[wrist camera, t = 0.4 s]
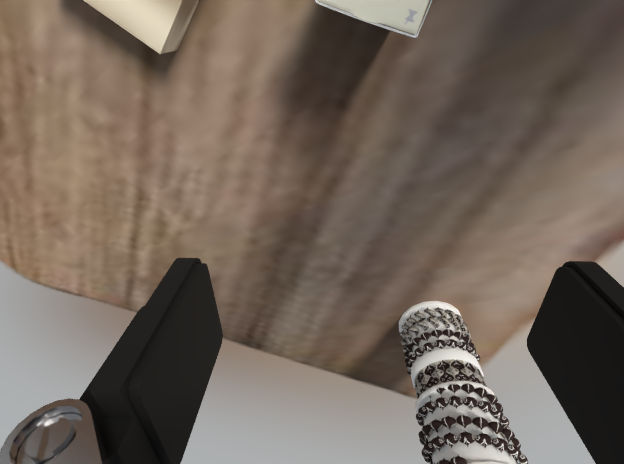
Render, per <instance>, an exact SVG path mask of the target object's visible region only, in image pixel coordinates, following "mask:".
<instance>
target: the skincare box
mask: <svg viewBox="0 0 624 464" xmlns="http://www.w3.org/2000/svg"><path fill="white" fill-rule="evenodd" d="M315 2H316V3H317V4H319V5H321V6H324V7H326V8H329V9H332V10H334V11H337V12H339V13H342V14H345V15H347V16H350V17H353V18H355V19H358V20H361V21H364V22H367V23H370V24H373V25H376V26H378V27H381V28H384V29H387V30H390V31H393V32H397V33H400V34H403V35H406V36H409V37H412V38H417V36H418V34H419V31H420V29H421V27H422V24H423V22H424V19H425V17H426V15H427V12H428V10H429V8H430V5H431V2H432V0H315Z"/></svg>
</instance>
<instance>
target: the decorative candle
mask: <svg viewBox="0 0 624 464" xmlns="http://www.w3.org/2000/svg"><path fill="white" fill-rule="evenodd" d="M399 332H400V336H403V338H404V339H401V342H402V345H403V346H406V347H405V348H403V352H405V353H404V356H405V358H406V360H405V362H406V366H407V368H408V370H407V372H408V374H409V375H410V376H411V378H412V383H413V387H414V388H415V390H416V394H417V398H418V400H417V401H416V419H417V420H418V423H419V425H420V426H423V428H422V431H420V432H419V438H420V442H421V443H422V444H423V445H424V448H423V450H422V455H423V457H424V459H425V461H426V462H428V463H430V464H517V460H518V459H519V461H520V464H528V460H527V458H526V457H525V456H524V455H523V454H521V451H520V450H519V449H520V446H521V445H520V442H519V441H518V440H517V439H516V438H514V437H515V435H514V433H513V432H512V431H511V430H510V428H509V427H508V425H509V421H508V419H507V418H506V417H505V416H503V413H502V411H503V407H502V405H500V404H499V403H498V400H497V397H496V396H495V395H494V393H493V391H492V390H491V389H489V388H487V386H486V383H485V381H484V379H483V375H484V374H483V372H482V370H481V367H480V364H479V362H478V361H479V360H480V356H479V355H478V354H476V349H475V345H474V344H473V343H471V335H470V333H469V331H467V326H466V324H465V322H464V321H463V319H462V317H461V315H460V313H459V311H458V309H457V308H455V307H454V306H452V305H451V304H449V303H445V302H441V301H426V302H421V303H419V304H416V305H414V306H411V307H410V308H409V309H408V310H406V311H405V312H404V313H403V314H402V316H401V318H400V320H399ZM501 422H502V424H503V425H501ZM426 435H427V438H426ZM427 439H428V440H427ZM509 441H511V442H512V444H513V445H510V444H509V443H508V442H509Z"/></svg>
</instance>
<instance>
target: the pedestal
mask: <svg viewBox="0 0 624 464" xmlns="http://www.w3.org/2000/svg"><path fill="white" fill-rule="evenodd" d="M84 1H85V2H86V3H88V4H89V5H91V6H92V7H94V8H95V9H96V10H98V11H99V12H101V13H102V14H104V15H105V16H106V17H108V18H109V19H111V20H112V21H114V22H115V23H116V24H118V25H119V26H121V27H122V28H124V29H125V30H126V31H128V32H129V33H131V34H132V35H134V36H135V37H136V38H138V39H139V40H141V41H142V42H144V43H145V44H146V45H148V46H149V47H151V48H152V49H153V50H155V51H156V52H158V53H159V54H163V53H168V52H172V51H177V50H178V48H179V45H180V43H181V41H182V39H183V36H184V34H185V32H186V29H187V27H188V25H189V23H190V20H191V18H192V16H193V13H194V11H195V9H196V7H197V4H198V2H199V0H84Z"/></svg>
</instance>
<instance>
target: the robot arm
mask: <svg viewBox="0 0 624 464" xmlns="http://www.w3.org/2000/svg"><path fill="white" fill-rule="evenodd" d="M222 337H223V334H222V328H221V324H220V319H219V315H218V310H217V306H216V301H215V297H214V293H213V288H212V284H211V279H210V275H209V270H208V267H207V265H206V264H205V263H201V261H200V259H198V258H177V259H176V260H175V261H174V262H173V264H172V266H171V267H170V269H169V270H168V272H167V273H166V275H165V276H164V278H163V279H162V281H161V282H160V284H159V285H158V287H157V288H156V290H155V291H154V293H153V294H152V296H151V297H150V299H149V300H148V302H147V303H146V305H145V306H144V307H142V308H141V309H140V310H139V311H138V312H137V314H136V315H135V317H134V318H133V320H132V321H131V323H130V324H129V326H128V327H127V329H126V330H125V332H124V333H123V335H122V336H121V338H120V339H119V341H118V342H117V344H116V345H115V347H114V348H113V350H112V351H111V353H110V354H109V356H108V357H107V359H106V360H105V362H104V363H103V365H102V366H101V368H100V369H99V371H98V372H97V374H96V375H95V377H94V378H93V380H92V381H91V383H90V384H89V386H88V387H87V389H86V390H85V392H84V393H83V395H82V396H81V398H80V399H79V400H78V399H64V400H58V401H55V402H52V403H50V404H47V405H45V406H43V407H41V408H40V409H38V410H36V411H35V412H33V413H31V414H30V415H29V416H28V417H26V418H25V419H24V420H23V421H22V422H20V423H19V424H18V425H17V426H16V427H15V429H14V430H13V431H12V432H11V433H10V434H9V436H8V437H7V439H6V441H5V442H4V444H3V446H2V448H1V451H0V464H180V462H181V460H182V458H183V455H184V452H185V449H186V446H187V443H188V440H189V437H190V434H191V431H192V429H193V425H194V423H195V420H196V417H197V414H198V411H199V408H200V405H201V402H202V399H203V396H204V394H205V391H206V388H207V385H208V382H209V379H210V376H211V373H212V370H213V367H214V364H215V362H216V359H217V356H218V353H219V350H220V347H221V344H222ZM527 347H528V350H529V352H530V354H531V356H532V357H533V359H534V361H535V362H536V364H537V366H538V367H539V369H540V371H541V372H542V374H543V376H544V377H545V379H546V380H547V382H548V384H549V386H550V387H551V389H552V391H553V392H554V394H555V396H556V398H557V399H558V401H559V403H560V404H561V406H562V407H563V409H564V411H565V413H566V414H567V416H568V418H569V419H570V421H571V423H572V424H573V426H574V428H575V429H576V431H577V433H578V434H579V436H580V438H581V439H582V441H583V443H584V444H585V446H586V448H587V450H588V451H589V453H590V455H591V456H592V458H593V459H594V461H595V463H596V464H624V287H622V286H621V285H620V284H619V283H618V282H617V281H616V280H615V279H614V278H612V277H611V276H610V275H609V274H608V273H607V272H606V271H605V270H604V269H603V268H602V267H601V266H599V265H598V264H597V263H595V262H582V261H569V262H566V263H565V264H564V265H563V266H562V267H559V268H558V269H557V270H556V272H555V274H554V277H553V279H552V281H551V284H550V286H549V288H548V291H547V293H546V295H545V298H544V300H543V302H542V305H541V307H540V309H539V312H538V314H537V316H536V319H535V321H534V323H533V326H532V328H531V331H530V333H529V335H528V338H527Z"/></svg>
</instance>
